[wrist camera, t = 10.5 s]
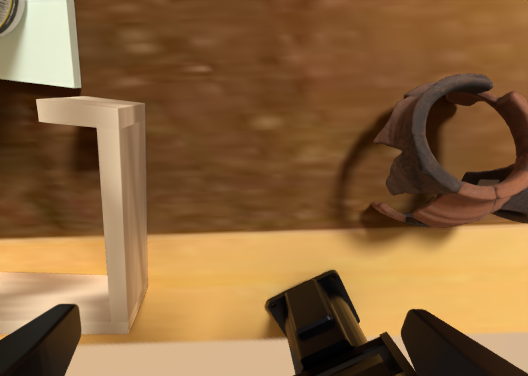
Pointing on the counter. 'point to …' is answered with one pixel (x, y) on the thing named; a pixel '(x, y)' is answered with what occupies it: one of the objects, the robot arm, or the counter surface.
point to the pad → (43, 45)
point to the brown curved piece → (438, 179)
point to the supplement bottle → (10, 15)
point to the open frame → (115, 226)
